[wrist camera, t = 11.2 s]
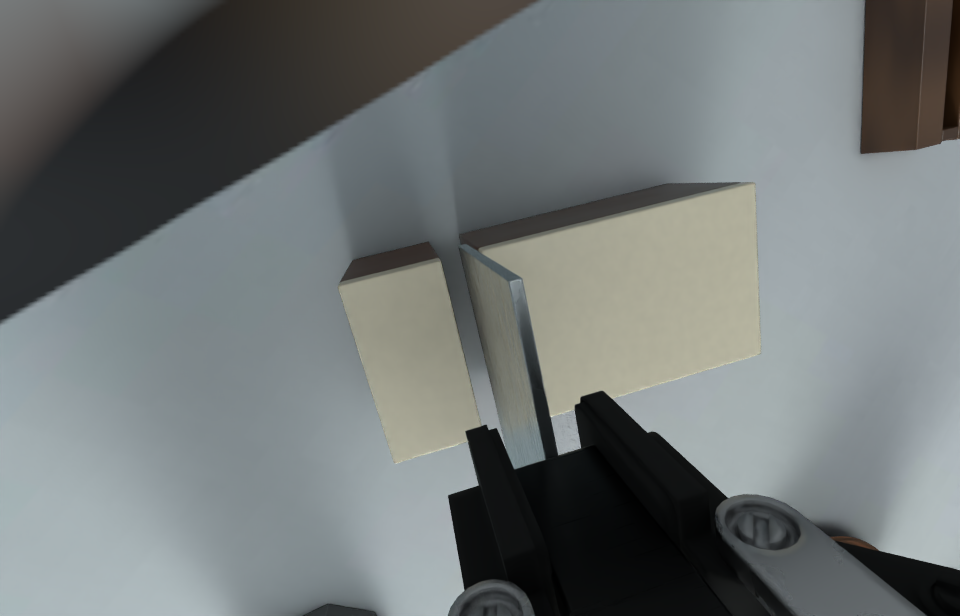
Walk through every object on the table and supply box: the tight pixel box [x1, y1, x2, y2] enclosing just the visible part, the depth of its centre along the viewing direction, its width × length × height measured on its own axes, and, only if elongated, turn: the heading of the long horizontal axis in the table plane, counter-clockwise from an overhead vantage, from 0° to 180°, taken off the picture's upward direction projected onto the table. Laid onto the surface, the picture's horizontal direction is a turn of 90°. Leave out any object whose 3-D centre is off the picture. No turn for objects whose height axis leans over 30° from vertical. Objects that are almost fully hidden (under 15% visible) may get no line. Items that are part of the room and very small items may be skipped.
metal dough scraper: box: [458, 244, 733, 616], centre depth 11 cm, size 10×2×12 cm, turn 12°
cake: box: [459, 182, 761, 417], centre depth 22 cm, size 8×12×6 cm, turn 102°
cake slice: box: [338, 242, 481, 463], centre depth 21 cm, size 8×4×6 cm, turn 12°
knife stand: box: [861, 0, 960, 154], centre depth 24 cm, size 12×4×3 cm, turn 12°
